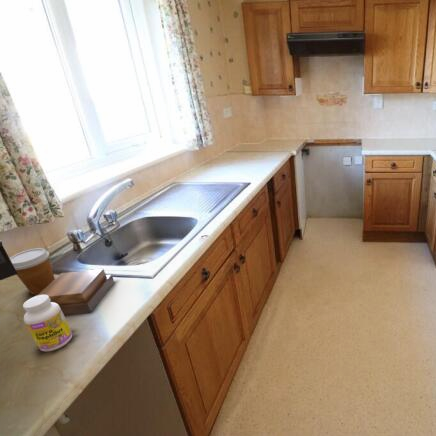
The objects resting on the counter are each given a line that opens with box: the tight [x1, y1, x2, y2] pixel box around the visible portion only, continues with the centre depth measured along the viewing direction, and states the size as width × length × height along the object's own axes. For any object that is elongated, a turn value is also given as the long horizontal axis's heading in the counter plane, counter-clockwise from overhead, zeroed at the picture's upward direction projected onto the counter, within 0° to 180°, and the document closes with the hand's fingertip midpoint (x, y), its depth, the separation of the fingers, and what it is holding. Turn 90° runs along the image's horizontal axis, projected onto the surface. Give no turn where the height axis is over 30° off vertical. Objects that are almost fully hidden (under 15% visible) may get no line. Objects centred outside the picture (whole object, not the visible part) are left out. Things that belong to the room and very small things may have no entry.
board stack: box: [36, 268, 115, 316], centre depth 94 cm, size 14×14×6 cm
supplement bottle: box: [22, 294, 73, 352], centre depth 77 cm, size 7×7×13 cm
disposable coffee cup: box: [9, 247, 56, 295], centre depth 98 cm, size 10×10×12 cm
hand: (1, 265), depth 66 cm, fingers open, 13 cm apart
